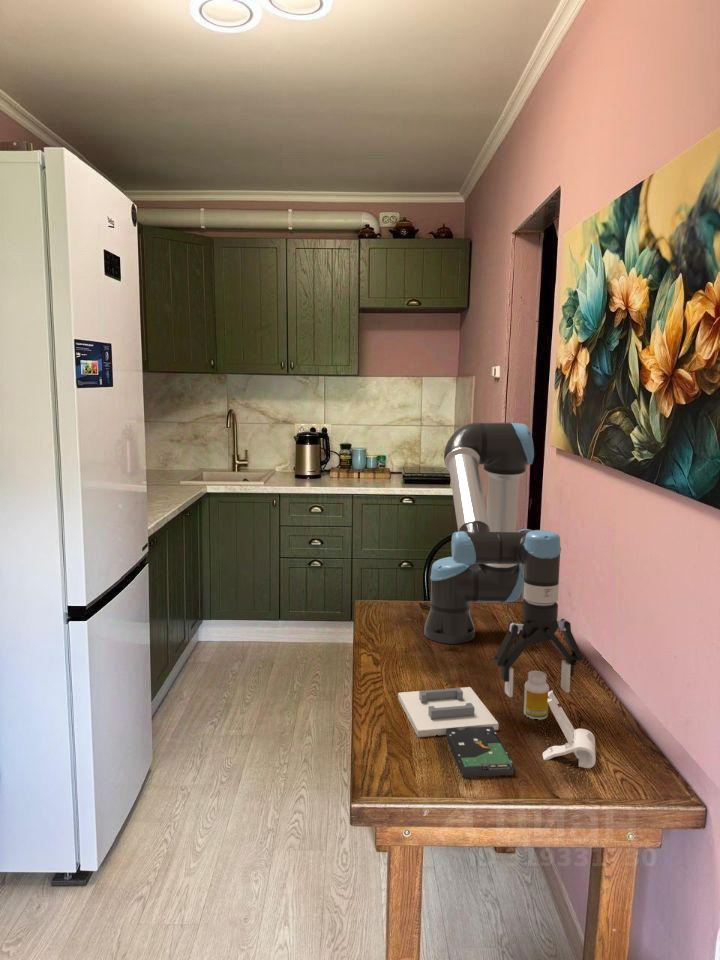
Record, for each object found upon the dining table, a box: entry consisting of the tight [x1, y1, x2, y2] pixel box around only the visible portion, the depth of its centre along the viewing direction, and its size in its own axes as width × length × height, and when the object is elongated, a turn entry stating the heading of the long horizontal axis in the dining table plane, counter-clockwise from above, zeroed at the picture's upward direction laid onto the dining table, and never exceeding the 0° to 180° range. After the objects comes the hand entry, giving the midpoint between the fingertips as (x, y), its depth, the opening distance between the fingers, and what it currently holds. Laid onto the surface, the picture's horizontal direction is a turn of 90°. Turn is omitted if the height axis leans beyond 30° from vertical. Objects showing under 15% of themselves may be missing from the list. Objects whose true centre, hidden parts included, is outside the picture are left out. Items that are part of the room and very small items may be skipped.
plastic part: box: [542, 690, 596, 769], centre depth 132 cm, size 8×10×12 cm
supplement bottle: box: [523, 670, 550, 721], centre depth 149 cm, size 5×5×10 cm
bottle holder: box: [397, 686, 499, 738], centre depth 150 cm, size 18×18×4 cm
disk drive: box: [445, 726, 515, 778], centre depth 133 cm, size 10×3×15 cm
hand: (537, 692), depth 148 cm, fingers open, 13 cm apart
